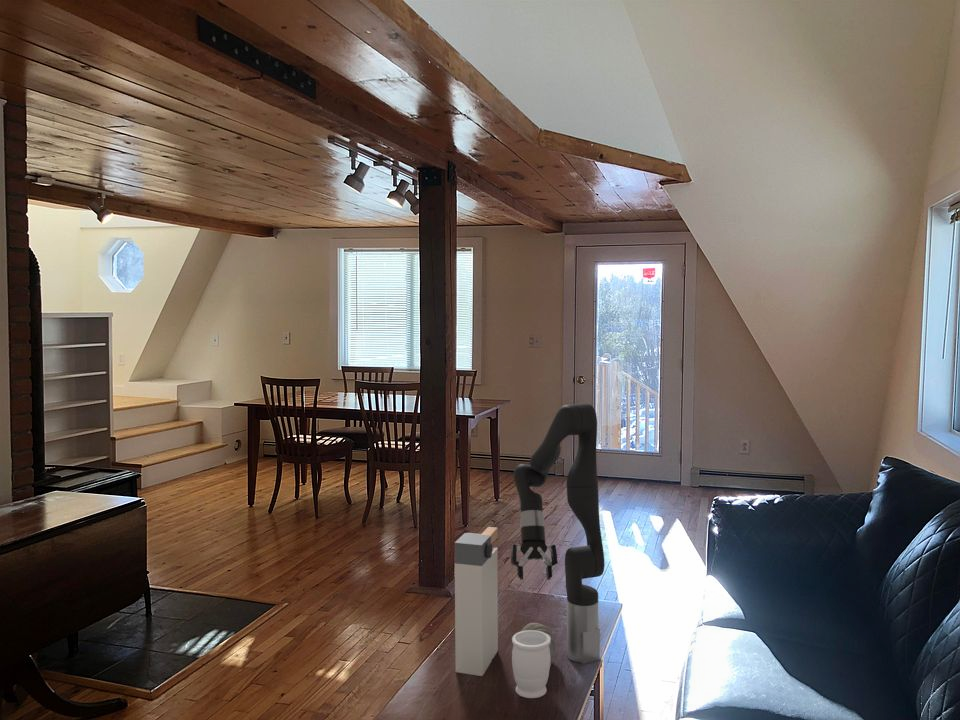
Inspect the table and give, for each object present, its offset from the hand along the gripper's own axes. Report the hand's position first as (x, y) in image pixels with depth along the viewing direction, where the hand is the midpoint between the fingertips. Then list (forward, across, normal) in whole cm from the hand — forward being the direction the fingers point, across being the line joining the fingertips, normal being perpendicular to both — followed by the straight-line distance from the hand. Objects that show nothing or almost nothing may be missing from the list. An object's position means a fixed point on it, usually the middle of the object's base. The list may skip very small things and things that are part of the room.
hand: (535, 579), depth 238 cm
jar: (+32, -6, -16) cm, 36 cm away
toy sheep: (+24, -1, -2) cm, 24 cm away
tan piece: (-10, -16, -6) cm, 20 cm away
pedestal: (+23, -18, +2) cm, 29 cm away
